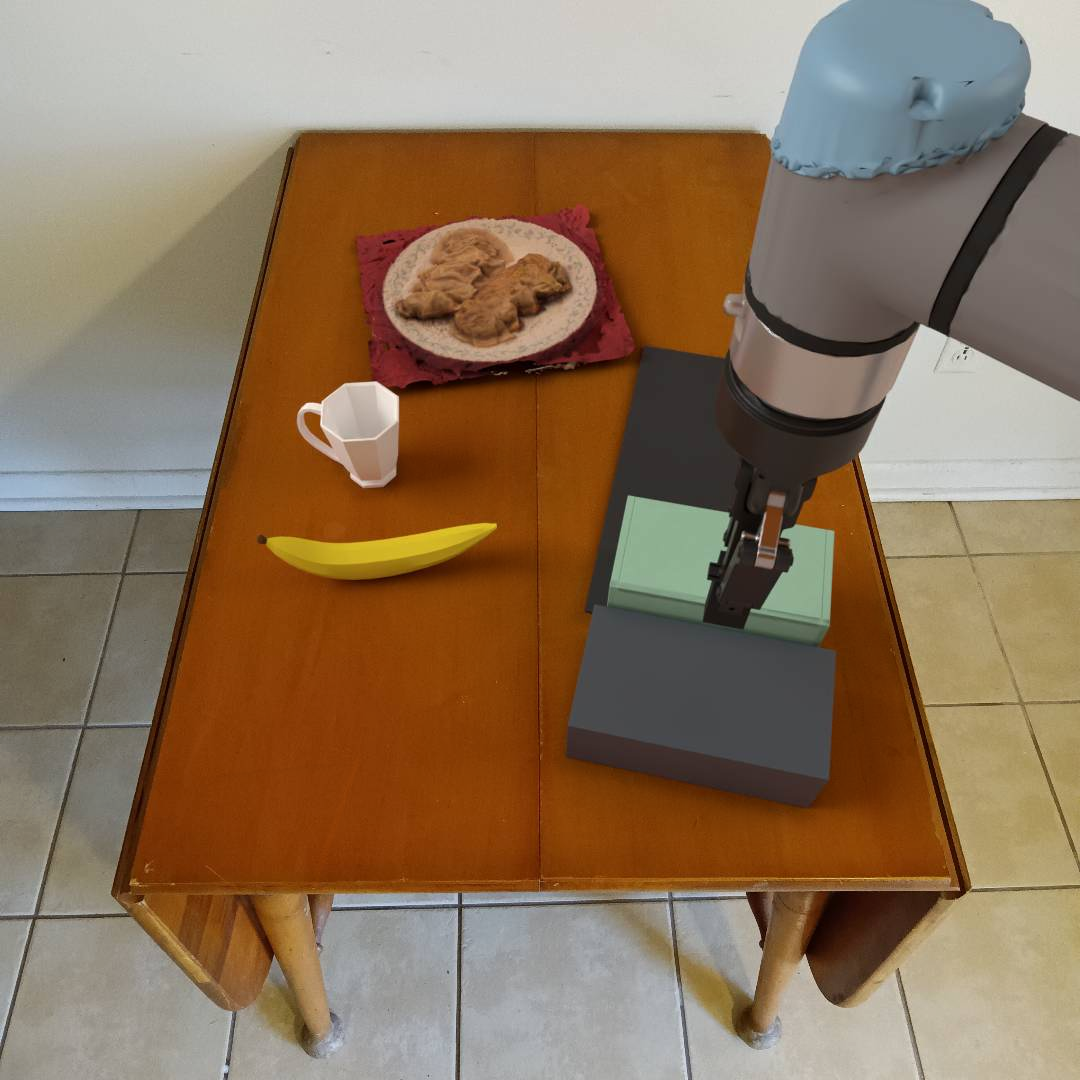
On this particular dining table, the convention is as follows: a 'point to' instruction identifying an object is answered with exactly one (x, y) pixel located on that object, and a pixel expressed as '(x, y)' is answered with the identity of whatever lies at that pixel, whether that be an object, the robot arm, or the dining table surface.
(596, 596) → the mat
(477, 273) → the plate with food
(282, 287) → the dining table surface
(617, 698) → the block
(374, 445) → the cup
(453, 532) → the banana
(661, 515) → the open box
